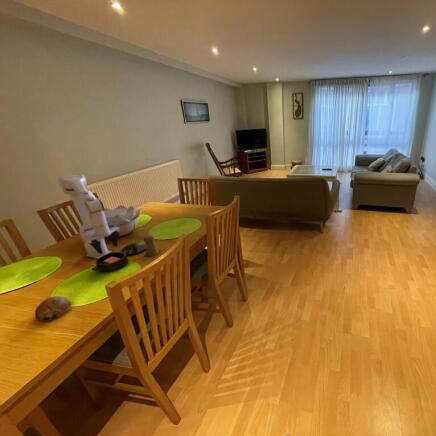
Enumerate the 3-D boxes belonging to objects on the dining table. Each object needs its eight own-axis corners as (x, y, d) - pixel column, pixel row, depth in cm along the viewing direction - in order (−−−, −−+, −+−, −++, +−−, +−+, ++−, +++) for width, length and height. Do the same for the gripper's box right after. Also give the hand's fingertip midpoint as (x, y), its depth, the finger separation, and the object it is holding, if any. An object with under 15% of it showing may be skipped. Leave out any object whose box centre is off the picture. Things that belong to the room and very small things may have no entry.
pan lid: (115, 253, 134) (113, 245, 132) (136, 242, 146) (134, 235, 144) (133, 257, 130) (131, 249, 129) (154, 246, 142) (152, 238, 140)
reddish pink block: (104, 266, 122) (103, 260, 121) (113, 261, 126) (111, 256, 125) (113, 268, 120) (111, 263, 119) (121, 263, 124) (120, 258, 123)
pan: (86, 273, 117) (83, 265, 115) (120, 255, 133) (118, 247, 131) (104, 277, 113) (102, 269, 112) (137, 258, 129) (135, 251, 127)
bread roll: (78, 312, 97) (78, 292, 98) (53, 322, 87) (54, 300, 88) (52, 313, 97) (53, 293, 98) (25, 323, 87) (26, 300, 87)
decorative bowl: (99, 250, 137) (91, 226, 132) (83, 236, 154) (75, 214, 148) (153, 232, 160) (148, 211, 154) (134, 221, 176) (129, 202, 171)
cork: (145, 256, 131) (140, 238, 127) (148, 251, 136) (143, 233, 132) (157, 255, 132) (153, 237, 128) (159, 249, 138) (155, 232, 134)
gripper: (89, 232, 107) (99, 258, 112) (120, 220, 120) (127, 244, 125) (78, 229, 109) (88, 255, 114) (110, 218, 122) (117, 242, 127)
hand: (108, 249), depth 119 cm, fingers open, 7 cm apart
